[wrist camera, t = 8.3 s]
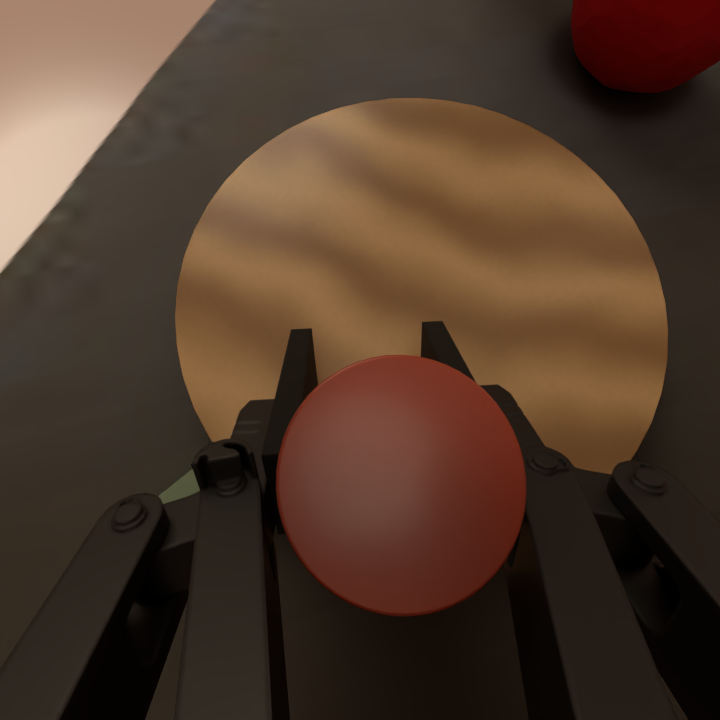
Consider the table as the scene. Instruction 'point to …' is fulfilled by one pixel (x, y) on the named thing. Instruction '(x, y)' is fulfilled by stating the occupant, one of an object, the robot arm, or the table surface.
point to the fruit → (646, 41)
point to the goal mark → (181, 488)
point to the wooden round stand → (404, 329)
